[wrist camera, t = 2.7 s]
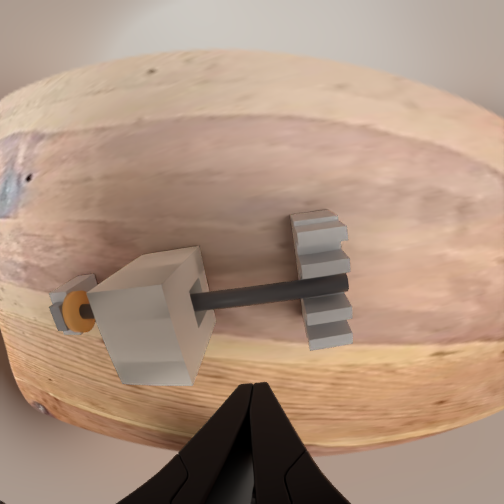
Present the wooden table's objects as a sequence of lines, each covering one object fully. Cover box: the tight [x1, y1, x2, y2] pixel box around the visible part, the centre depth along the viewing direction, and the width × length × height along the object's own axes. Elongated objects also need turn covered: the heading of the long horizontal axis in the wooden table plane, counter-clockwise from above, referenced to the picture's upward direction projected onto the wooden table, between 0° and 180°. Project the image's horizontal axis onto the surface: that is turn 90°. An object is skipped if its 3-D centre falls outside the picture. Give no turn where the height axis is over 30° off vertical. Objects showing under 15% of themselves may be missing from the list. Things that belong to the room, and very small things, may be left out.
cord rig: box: [49, 210, 353, 351], centre depth 17 cm, size 19×7×5 cm, turn 99°
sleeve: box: [86, 246, 216, 386], centre depth 15 cm, size 4×5×7 cm
